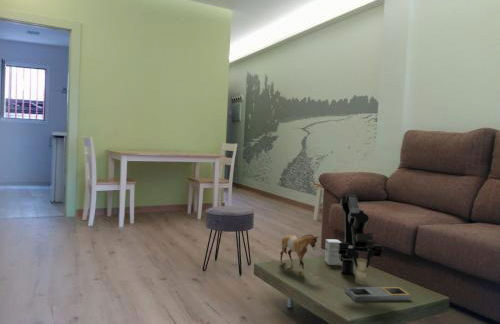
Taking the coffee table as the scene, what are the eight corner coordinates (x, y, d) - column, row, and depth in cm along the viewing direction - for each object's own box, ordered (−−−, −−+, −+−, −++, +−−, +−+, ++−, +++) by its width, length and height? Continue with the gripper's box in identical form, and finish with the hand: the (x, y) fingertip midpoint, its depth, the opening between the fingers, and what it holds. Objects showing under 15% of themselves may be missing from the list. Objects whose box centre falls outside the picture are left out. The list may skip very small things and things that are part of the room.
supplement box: (324, 261, 226) (325, 238, 225) (337, 261, 226) (338, 239, 226) (327, 265, 218) (329, 242, 218) (341, 265, 219) (342, 242, 219)
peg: (355, 280, 175) (356, 257, 175) (365, 281, 174) (366, 258, 174) (355, 283, 171) (356, 260, 170) (366, 284, 170) (367, 261, 169)
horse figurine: (317, 278, 195) (319, 236, 194) (303, 279, 192) (305, 237, 191) (285, 260, 223) (287, 223, 222) (273, 261, 220) (274, 224, 219)
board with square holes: (355, 301, 167) (355, 296, 166) (345, 291, 177) (345, 286, 177) (411, 300, 170) (411, 295, 170) (397, 291, 181) (398, 286, 181)
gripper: (340, 224, 176) (342, 255, 166) (383, 226, 175) (388, 258, 164) (336, 238, 184) (338, 268, 174) (378, 240, 183) (382, 271, 172)
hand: (362, 266), depth 171 cm, fingers closed on peg, 4 cm apart
